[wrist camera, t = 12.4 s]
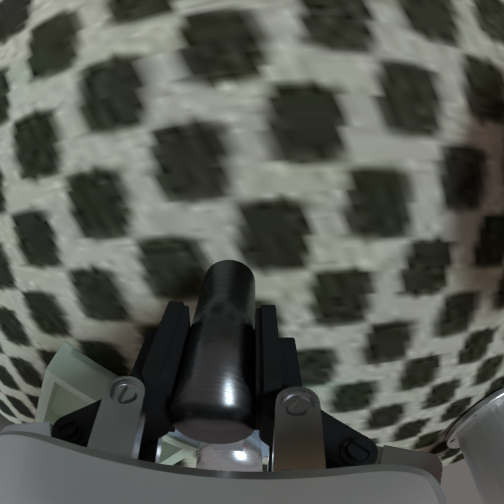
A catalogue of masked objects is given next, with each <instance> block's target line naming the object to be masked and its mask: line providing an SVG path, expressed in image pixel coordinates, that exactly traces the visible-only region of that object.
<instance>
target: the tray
mask: <svg viewBox="0 0 504 504" xmlns="http://www.w3.org/2000/svg"><path fill="white" fill-rule="evenodd" d="M118 377H119V376H118V375H116V374H114V373H112V372H111V371H109V370H107V369H106V368H104V367H102V366H101V365H99V364H98V363H96V362H94V361H93V360H91V359H90V358H88V357H87V356H85V355H83V354H82V353H80V352H79V351H77V350H76V349H74V348H73V347H71V346H70V345H69V344H67V343H66V342H63V344H62V345H61V347H60V348H59V350H58V351H57V353H56V354H55V356H54V357H53V359H52V360H51V362H50V364H49V365H48V367H47V368H46V371H45V375H44V379H43V383H42V388H41V392H40V397H39V401H38V406H37V411H36V417H35V422H34V423H37V422H48V421H50V422H51V424H54V423H55V422H56V421H57V420H58V419H59V418H61V417H62V416H65V415H67V414H69V413H71V412H74V411H76V410H78V409H81V408H83V407H85V406H87V405H90V404H92V403H94V402H96V401H98V400H100V399H102V398H103V395H104V392H105V389H106V387H107V385H108V384H109V383H110V382H111V381H112V380H114V379H116V378H118ZM198 448H199V445H196V444H193V443H191V442H188V441H186V440H183V439H181V438H179V437H176V436H174V435H171V434H169V433H168V434H166V435H165V436H163V437H162V446H161V453H160V461H159V464H166V465H173V464H175V463H177V462H178V461H180V460H182V459H183V458H185V457H187V456H188V455H190V454H192V453H193V452H195V451H197V450H198Z"/></svg>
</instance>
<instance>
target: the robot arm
mask: <svg viewBox="0 0 504 504" xmlns="http://www.w3.org/2000/svg"><path fill="white" fill-rule="evenodd" d="M190 329H191V326H190V316H189V307H188V306H184V303H183V302H175V301H169V303H168V305H167V308H166V310H165V313H164V315H163V317H162V320H161V322H160V325H159V327H158V330H157V332H153V331H149V332H148V334H147V336H146V338H145V340H144V343H143V345H142V348H141V350H140V352H139V355H138V357H137V360H136V362H135V365H134V367H133V370H132V372H131V375H130V376H122V377H118V378H116V379H114V380H112V381H111V382H110V383H109V384H108V385H107V387H106V389H105V392H104V395H103V398H102V399H100V400H98V401H96V402H94V403H92V404H90V405H87V406H85V407H83V408H81V409H78V410H76V411H74V412H71V413H69V414H67V415H65V416H62V417H61V418H59V419H58V420H57V421H56V422H55V423H54V424H51V422H50V421H48V422H37V423H25V424H12V425H8V426H6V427H5V428H4V429H3V430H2V432H1V433H0V504H448V501H447V498H446V496H445V494H444V492H443V490H442V488H441V486H440V484H441V477H442V469H443V468H442V462H441V461H440V459H439V458H438V457H437V456H436V455H434V454H431V453H425V452H419V451H413V450H408V449H402V448H397V447H392V446H387V445H384V447H379V446H376V445H375V443H374V442H373V441H372V440H371V439H369V438H368V437H366V436H364V435H362V434H361V433H359V432H357V431H356V430H354V429H352V428H350V427H349V426H347V425H345V424H344V423H342V422H340V421H339V420H337V419H335V418H334V417H332V416H330V415H329V414H327V413H325V412H324V411H322V410H321V407H320V401H319V398H318V396H317V395H316V394H315V393H314V392H313V391H311V390H310V389H307V388H305V387H302V382H301V376H300V369H299V363H298V357H297V350H296V344H295V339H294V338H278V328H277V318H276V308H275V305H261V308H256V316H255V406H256V428H255V430H259V438H260V440H261V441H262V442H264V443H265V444H266V445H268V446H269V450H268V468H267V472H244V471H222V470H208V469H197V468H188V467H180V466H172V465H166V464H159V461H160V453H161V446H162V437H163V436H165V435H166V434H168V432H175V428H174V427H173V425H172V424H171V422H170V419H169V413H170V409H171V405H172V400H173V396H174V392H175V388H176V384H177V380H178V376H179V372H180V368H181V364H182V360H183V356H184V352H185V348H186V344H187V341H188V337H189V333H190ZM445 441H446V444H447V446H448V447H449V448H461V451H462V453H463V455H464V458H465V460H466V462H467V465H468V467H469V470H470V472H471V474H472V477H473V480H474V482H475V485H476V488H477V490H478V493H479V496H480V498H481V501H482V504H504V388H502V389H500V390H498V391H496V392H494V393H492V394H491V395H489V396H488V397H486V398H485V399H483V400H482V401H481V402H479V403H478V404H476V405H475V406H474V407H473V408H472V409H470V410H469V411H468V412H467V413H466V414H464V415H463V416H462V417H461V418H460V419H459V420H458V421H457V422H456V423H455V424H454V426H453V427H452V428H451V429H450V431H449V432H448V434H447V436H446V439H445Z"/></svg>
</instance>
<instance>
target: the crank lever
mask: <svg viewBox="0 0 504 504" xmlns="http://www.w3.org/2000/svg"><path fill="white" fill-rule="evenodd" d="M169 419H170V422H171V424H172V425H173V427H174V428H175V429H176V430H177V431H179V432H180V433H181V434H183V435H185V436H187V437H189V438H191V439H194V440H197V441H199V448H198V456H197V463H196V468H197V469H208V470H222V471H244V472H262V441H261V440H260V438H259V430H255V428H256V406H255V279H254V275H253V273H252V272H251V270H250V269H249V268H248V267H247V266H246V265H244V264H243V263H241V262H238V261H234V260H223V261H219V262H217V263H215V264H213V265H212V266H211V267H210V268H209V269H208V271H207V272H206V275H205V278H204V282H203V285H202V289H201V292H200V296H199V300H198V303H197V307H196V311H195V314H194V318H193V322H192V325H191V329H190V333H189V337H188V341H187V344H186V348H185V352H184V356H183V360H182V364H181V368H180V372H179V376H178V380H177V384H176V388H175V392H174V396H173V400H172V405H171V409H170V413H169Z"/></svg>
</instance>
